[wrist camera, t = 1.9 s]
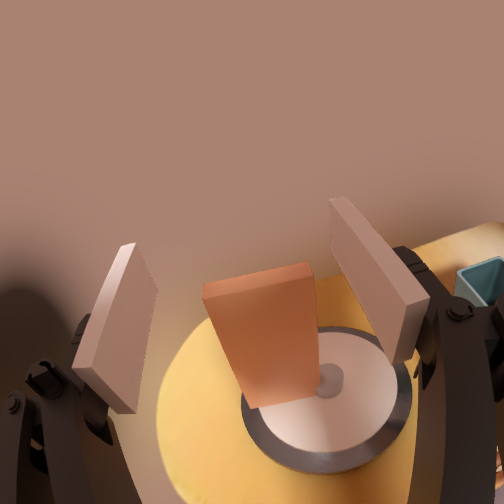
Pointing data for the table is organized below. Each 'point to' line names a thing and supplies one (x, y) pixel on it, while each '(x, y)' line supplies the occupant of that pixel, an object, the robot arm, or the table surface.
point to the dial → (299, 361)
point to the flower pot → (481, 282)
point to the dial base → (343, 459)
